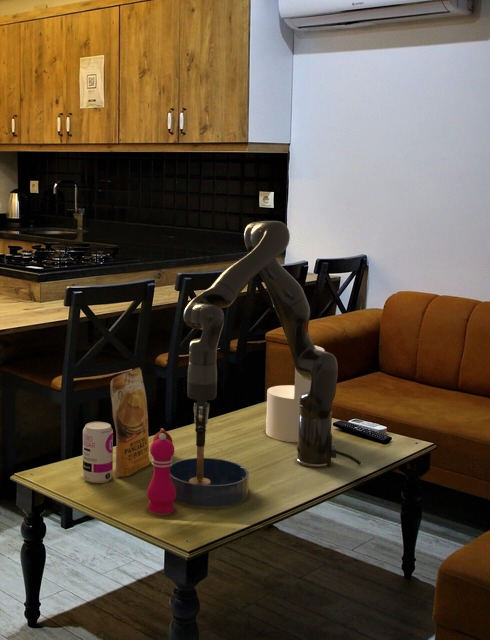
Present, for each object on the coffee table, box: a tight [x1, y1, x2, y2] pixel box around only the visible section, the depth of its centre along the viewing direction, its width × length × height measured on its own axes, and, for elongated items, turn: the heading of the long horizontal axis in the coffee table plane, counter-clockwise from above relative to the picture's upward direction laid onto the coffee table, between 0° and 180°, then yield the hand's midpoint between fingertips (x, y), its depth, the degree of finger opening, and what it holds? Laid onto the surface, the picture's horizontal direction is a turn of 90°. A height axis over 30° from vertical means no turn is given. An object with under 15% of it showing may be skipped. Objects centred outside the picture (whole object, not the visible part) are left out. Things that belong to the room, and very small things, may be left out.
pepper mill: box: [146, 433, 176, 515], centre depth 218 cm, size 7×7×20 cm
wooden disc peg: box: [189, 426, 211, 485], centre depth 229 cm, size 6×6×17 cm
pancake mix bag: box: [109, 367, 151, 478], centre depth 247 cm, size 7×19×28 cm, turn 145°
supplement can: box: [82, 421, 114, 484], centre depth 240 cm, size 8×8×15 cm
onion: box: [152, 428, 174, 444], centre depth 261 cm, size 6×6×8 cm
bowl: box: [170, 457, 250, 508], centre depth 231 cm, size 21×21×6 cm
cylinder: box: [265, 345, 326, 443], centre depth 281 cm, size 17×17×28 cm
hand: (200, 444), depth 229 cm, fingers closed on wooden disc peg
